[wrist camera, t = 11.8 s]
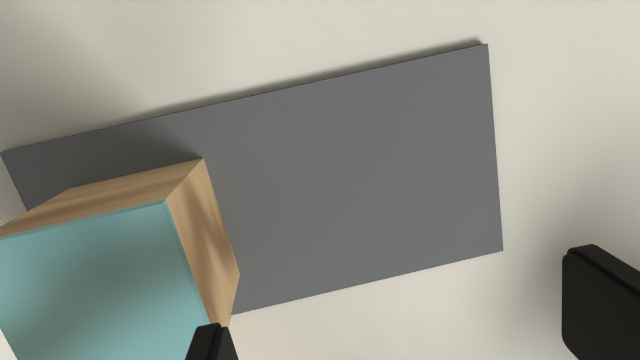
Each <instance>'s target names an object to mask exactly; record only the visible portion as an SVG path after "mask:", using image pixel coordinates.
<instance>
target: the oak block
mask: <svg viewBox="0 0 640 360" xmlns="http://www.w3.org/2000/svg"><path fill="white" fill-rule="evenodd" d="M239 276H240V273H239V270H238V267H237V263H236V260H235V257H234V254H233V251H232V247H231V244H230V241H229V238H228V235H227V231H226V228H225V225H224V222H223V219H222V215H221V212H220V209H219V206H218V203H217V199H216V196H215V193H214V190H213V187H212V183H211V180H210V177H209V174H208V171H207V167H206V164H205V161H204V158H201V159H197V160H192V161H188V162H183V163H179V164H175V165H170V166H166V167H162V168H157V169H153V170H148V171H144V172H140V173H135V174H131V175H126V176H122V177H118V178H113V179H109V180H104V181H100V182H96V183H91V184H87V185H82V186H78V187H74V188H70V189H68V190H66V191H64V192H62V193H60V194H59V195H57V196H55V197H53V198H51V199H50V200H48V201H46V202H44V203H42V204H41V205H39V206H37V207H35V208H33V209H32V210H30V211H28V212H26V213H24V214H23V215H21V216H19V217H17V218H15V219H13V220H12V221H10V222H8V223H6V224H4V225H3V226H1V227H0V329H1V331H2V332H3V334H4V336H5V338H6V340H7V341H8V343H9V345H10V347H11V349H12V350H13V352H14V354H15V356H16V358H17V359H18V360H185V358H186V355H187V352H188V349H189V346H190V344H191V341H192V338H193V335H194V332H195V330H196V328H197V327H198V326H202V325H207V324H212V323H217V322H218V323H220V325H221V327H225V326H227V327H228V326H229V322H230V317H231V313H232V308H233V303H234V299H235V294H236V290H237V285H238V281H239Z"/></svg>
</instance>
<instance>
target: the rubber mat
mask: <svg viewBox="0 0 640 360" xmlns="http://www.w3.org/2000/svg"><path fill="white" fill-rule="evenodd" d="M0 155H1V157H2V159H3V161H4V163H5V165H6V167H7V169H8V171H9V174H10V176H11V178H12V180H13V182H14V184H15V186H16V188H17V190H18V193H19V195H20V197H21V199H22V201H23V203H24V205H25V207H26V209H27V211H30V210H32V209H33V208H35V207H37V206H39V205H41V204H42V203H44V202H46V201H48V200H50V199H51V198H53V197H55V196H57V195H59V194H60V193H62V192H64V191H66V190H68V189H70V188H74V187H78V186H82V185H87V184H91V183H96V182H100V181H104V180H109V179H113V178H118V177H122V176H126V175H131V174H135V173H140V172H144V171H148V170H153V169H157V168H162V167H166V166H170V165H175V164H179V163H183V162H188V161H192V160H197V159H201V158H204V161H205V164H206V167H207V171H208V174H209V177H210V180H211V183H212V187H213V190H214V193H215V196H216V199H217V203H218V206H219V209H220V212H221V215H222V219H223V222H224V225H225V228H226V231H227V235H228V238H229V241H230V244H231V247H232V251H233V254H234V257H235V260H236V263H237V267H238V270H239V273H240V276H239V281H238V285H237V290H236V294H235V299H234V303H233V308H232V313H231V315H234V314H239V313H243V312H247V311H251V310H255V309H260V308H264V307H268V306H272V305H276V304H281V303H285V302H289V301H293V300H298V299H302V298H306V297H310V296H314V295H319V294H323V293H327V292H331V291H335V290H340V289H344V288H348V287H352V286H356V285H361V284H365V283H369V282H373V281H378V280H382V279H386V278H390V277H394V276H399V275H403V274H407V273H411V272H415V271H420V270H424V269H428V268H432V267H436V266H441V265H445V264H449V263H453V262H458V261H462V260H466V259H470V258H474V257H479V256H483V255H487V254H491V253H495V252H500V251H503V240H502V226H501V213H500V200H499V186H498V173H497V159H496V146H495V133H494V119H493V106H492V92H491V79H490V66H489V52H488V44H482V45H478V46H473V47H469V48H464V49H460V50H455V51H451V52H446V53H442V54H437V55H433V56H428V57H424V58H419V59H415V60H410V61H406V62H401V63H397V64H392V65H388V66H383V67H379V68H374V69H370V70H365V71H361V72H356V73H352V74H347V75H343V76H338V77H334V78H329V79H325V80H320V81H316V82H311V83H307V84H302V85H298V86H293V87H289V88H284V89H280V90H275V91H271V92H266V93H262V94H258V95H253V96H249V97H244V98H240V99H235V100H231V101H226V102H222V103H217V104H213V105H208V106H204V107H199V108H195V109H190V110H186V111H181V112H177V113H172V114H168V115H163V116H159V117H154V118H150V119H145V120H141V121H136V122H132V123H127V124H123V125H118V126H114V127H109V128H105V129H100V130H96V131H91V132H87V133H82V134H78V135H73V136H69V137H64V138H60V139H55V140H51V141H46V142H42V143H37V144H33V145H28V146H24V147H20V148H15V149H11V150H6V151H2V152H0Z"/></svg>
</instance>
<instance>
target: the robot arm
mask: <svg viewBox="0 0 640 360" xmlns="http://www.w3.org/2000/svg"><path fill="white" fill-rule="evenodd" d="M562 338H563V341H564V343H565V345H566V346H567V348H568V349H569V350H570V351H571V352H572V353H573V354H574V355H575V356H576V357H577V358H578V359H579V360H640V272H639V271H638V270H636V269H634V268H633V267H631V266H629V265H628V264H626V263H624V262H623V261H621V260H619V259H618V258H616V257H614V256H613V255H611V254H609V253H608V252H606V251H604V250H603V249H601V248H600V247H598V246H596V245H594V244H589V245H584V246H579V247H575V248H571V249H569V250H568V252H567V255H565V256H564V257H563V260H562ZM185 360H238V357H237V354H236V350H235V347H234V344H233V341H232V338H231V335H230V332H229V329H228V327H227V326H225V327H221V325H220V323H218V322H217V323H212V324H207V325H202V326H198V327H197V328H196V330H195V332H194V335H193V338H192V341H191V344H190V346H189V349H188V352H187V355H186V358H185Z"/></svg>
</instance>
